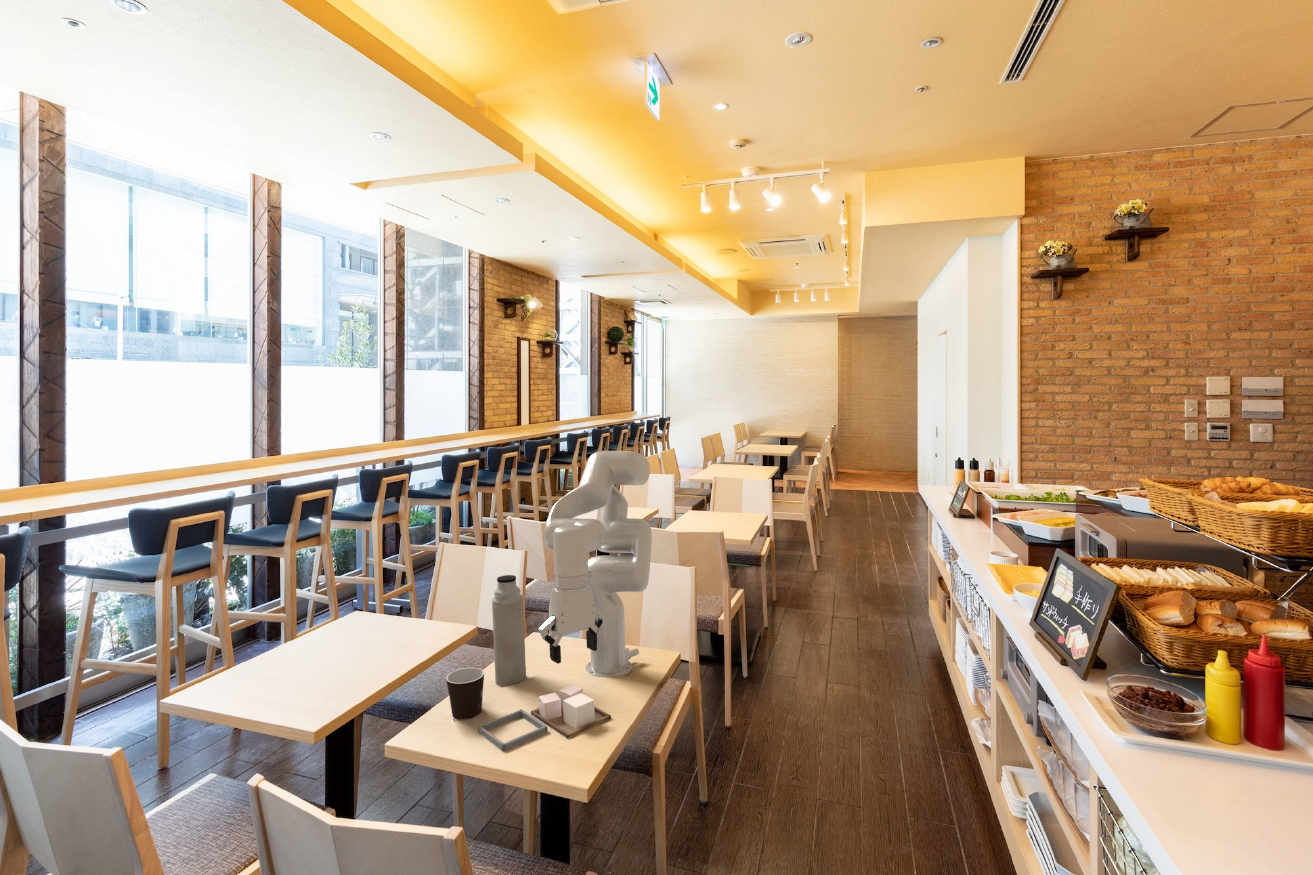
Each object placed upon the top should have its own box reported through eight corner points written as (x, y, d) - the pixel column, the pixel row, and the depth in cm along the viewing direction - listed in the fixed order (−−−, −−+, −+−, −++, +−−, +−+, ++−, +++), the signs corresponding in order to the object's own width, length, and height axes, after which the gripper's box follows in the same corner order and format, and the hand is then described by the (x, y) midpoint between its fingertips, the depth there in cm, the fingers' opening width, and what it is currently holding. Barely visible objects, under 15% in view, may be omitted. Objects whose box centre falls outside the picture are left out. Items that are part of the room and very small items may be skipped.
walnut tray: (573, 700, 157) (572, 694, 157) (611, 722, 146) (610, 715, 146) (530, 718, 149) (530, 711, 149) (567, 742, 138) (567, 735, 138)
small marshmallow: (555, 708, 151) (555, 692, 151) (561, 716, 147) (560, 699, 147) (539, 713, 149) (538, 696, 149) (544, 720, 146) (544, 703, 145)
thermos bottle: (505, 672, 174) (500, 571, 173) (531, 675, 172) (527, 573, 170) (489, 685, 167) (485, 580, 165) (516, 688, 164) (512, 581, 163)
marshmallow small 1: (571, 700, 155) (570, 684, 155) (583, 704, 153) (582, 688, 152) (559, 706, 152) (558, 690, 152) (571, 711, 149) (570, 695, 149)
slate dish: (521, 718, 149) (521, 709, 149) (547, 735, 141) (547, 726, 141) (478, 736, 142) (477, 726, 141) (503, 755, 133) (502, 745, 133)
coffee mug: (475, 727, 145) (473, 684, 145) (441, 724, 147) (438, 682, 147) (497, 703, 157) (496, 663, 156) (465, 700, 159) (463, 661, 158)
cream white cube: (581, 713, 148) (581, 692, 148) (594, 721, 145) (594, 700, 144) (563, 721, 145) (563, 700, 145) (576, 729, 141) (575, 707, 141)
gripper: (593, 570, 151) (595, 640, 152) (529, 585, 140) (532, 661, 141) (612, 576, 145) (614, 649, 147) (547, 592, 134) (550, 672, 135)
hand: (574, 655), depth 144 cm, fingers open, 9 cm apart
